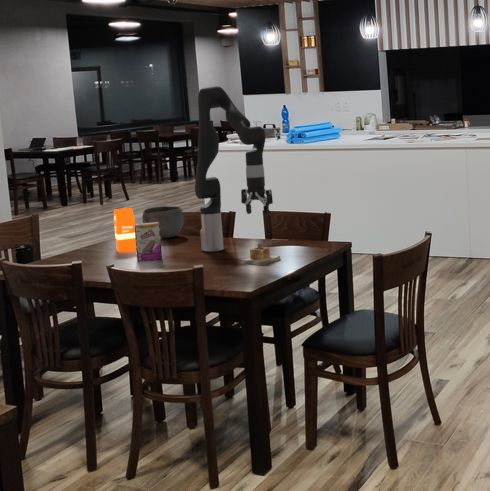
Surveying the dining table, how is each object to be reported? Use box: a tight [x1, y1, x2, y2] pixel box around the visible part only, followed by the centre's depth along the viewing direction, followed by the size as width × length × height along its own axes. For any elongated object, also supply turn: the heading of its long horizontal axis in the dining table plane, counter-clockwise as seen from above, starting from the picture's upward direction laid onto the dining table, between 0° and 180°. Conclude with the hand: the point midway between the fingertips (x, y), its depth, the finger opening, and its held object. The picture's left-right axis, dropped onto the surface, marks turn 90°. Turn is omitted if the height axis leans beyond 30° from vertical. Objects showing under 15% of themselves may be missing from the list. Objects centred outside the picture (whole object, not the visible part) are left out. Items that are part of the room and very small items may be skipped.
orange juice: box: [113, 207, 136, 253], centre depth 407 cm, size 8×9×20 cm
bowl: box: [141, 205, 185, 240], centre depth 434 cm, size 21×21×15 cm
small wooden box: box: [249, 246, 271, 260], centre depth 362 cm, size 6×6×4 cm
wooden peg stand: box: [240, 242, 281, 266], centre depth 362 cm, size 12×12×8 cm
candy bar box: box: [134, 222, 163, 262], centre depth 381 cm, size 11×5×16 cm, turn 100°
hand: (257, 214), depth 359 cm, fingers open, 8 cm apart
